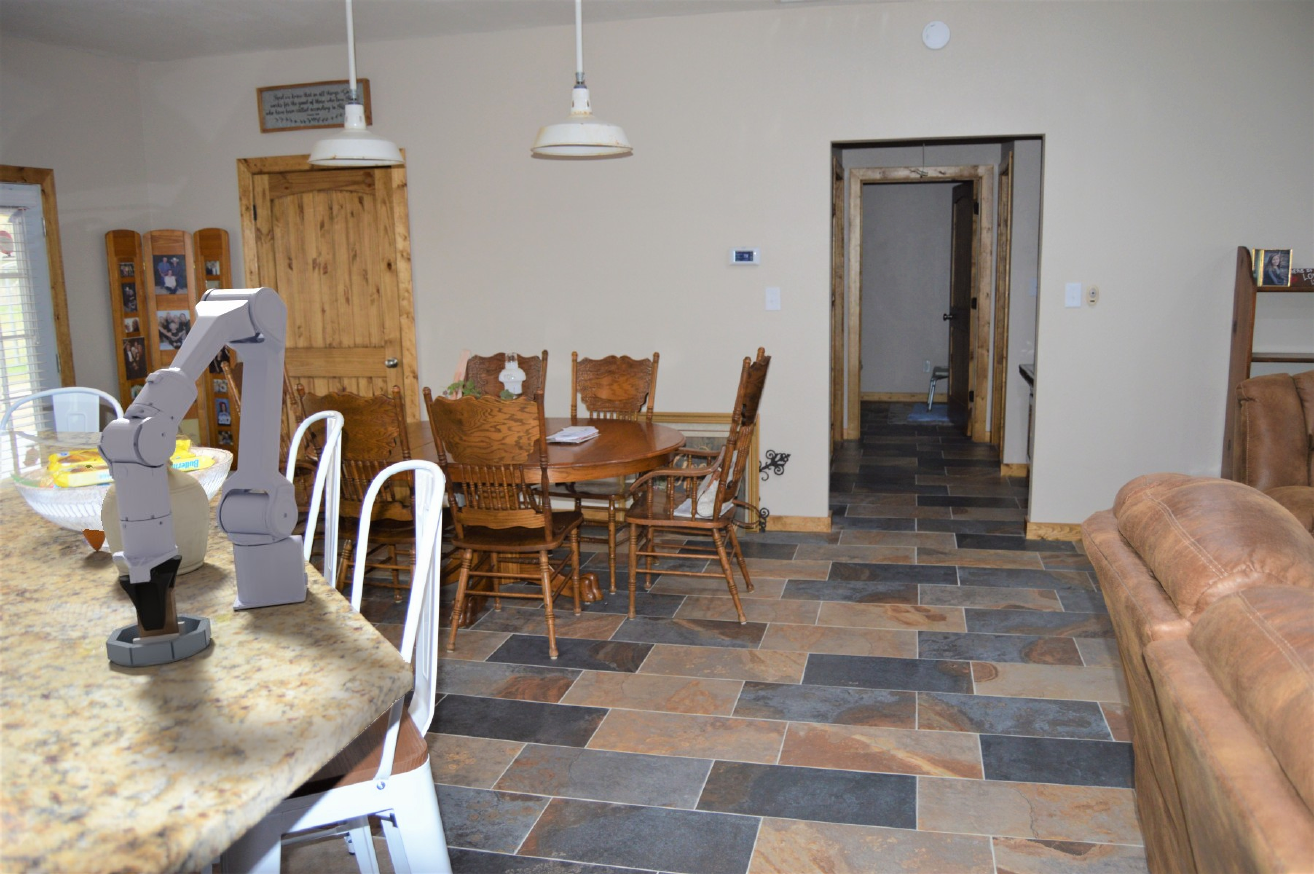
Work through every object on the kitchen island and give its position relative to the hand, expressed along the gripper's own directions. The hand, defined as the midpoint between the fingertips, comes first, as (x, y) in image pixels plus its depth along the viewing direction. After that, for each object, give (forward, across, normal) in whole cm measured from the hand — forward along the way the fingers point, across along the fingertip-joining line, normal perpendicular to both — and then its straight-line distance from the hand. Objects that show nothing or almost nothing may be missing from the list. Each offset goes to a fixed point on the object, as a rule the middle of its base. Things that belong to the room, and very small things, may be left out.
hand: (158, 622), depth 120 cm
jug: (+4, -39, -6) cm, 40 cm away
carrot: (+4, -56, -19) cm, 59 cm away
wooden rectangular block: (+3, 0, 0) cm, 3 cm away
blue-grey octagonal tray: (+3, 0, 0) cm, 3 cm away
